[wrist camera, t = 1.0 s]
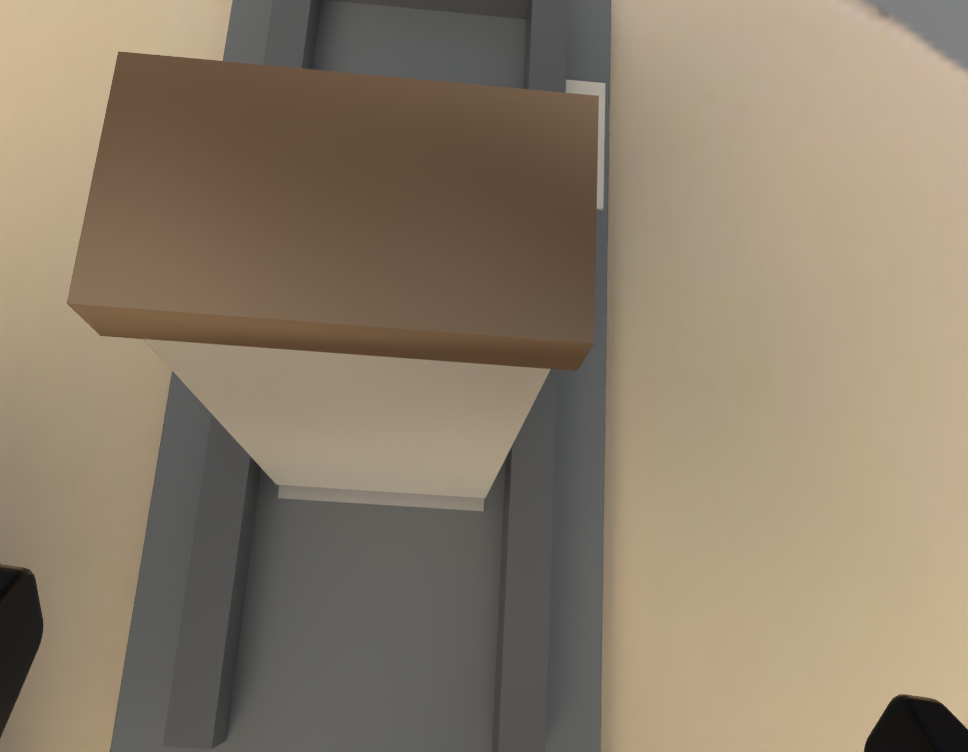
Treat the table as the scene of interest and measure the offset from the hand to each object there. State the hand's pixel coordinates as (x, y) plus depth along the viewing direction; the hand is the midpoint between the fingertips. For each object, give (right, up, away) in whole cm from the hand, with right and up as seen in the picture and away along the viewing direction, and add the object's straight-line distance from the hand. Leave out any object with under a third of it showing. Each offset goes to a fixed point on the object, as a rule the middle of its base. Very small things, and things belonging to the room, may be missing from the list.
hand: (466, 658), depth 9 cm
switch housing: (-2, +4, +15) cm, 15 cm away
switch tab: (-2, +1, +12) cm, 13 cm away
